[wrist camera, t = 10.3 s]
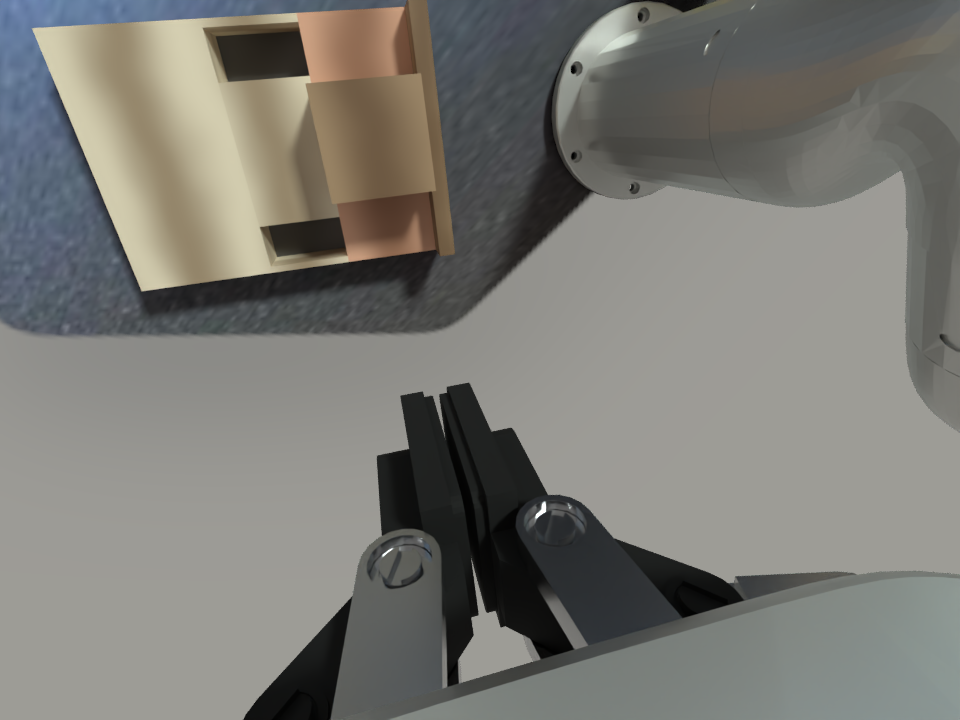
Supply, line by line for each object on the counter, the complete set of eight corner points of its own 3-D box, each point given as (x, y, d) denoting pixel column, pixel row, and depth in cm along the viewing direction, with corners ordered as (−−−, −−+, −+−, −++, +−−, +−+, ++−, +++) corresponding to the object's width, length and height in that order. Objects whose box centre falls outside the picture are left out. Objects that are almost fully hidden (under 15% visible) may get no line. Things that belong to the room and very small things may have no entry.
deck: (416, 16, 31) (426, -3, 26) (443, 239, 37) (455, 254, 32) (63, 38, 27) (6, 20, 23) (158, 278, 34) (128, 301, 29)
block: (413, 79, 29) (421, 73, 26) (427, 184, 32) (436, 190, 29) (311, 89, 28) (305, 83, 25) (334, 195, 31) (332, 204, 28)
